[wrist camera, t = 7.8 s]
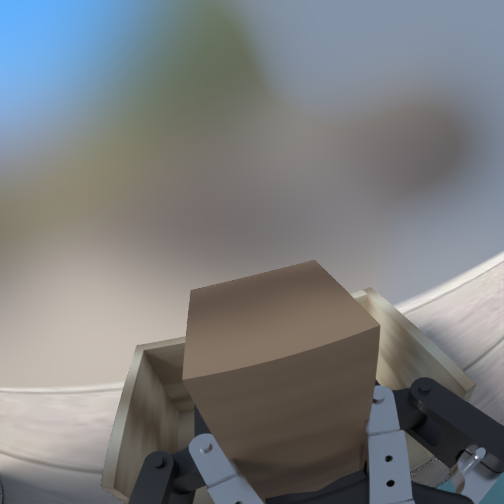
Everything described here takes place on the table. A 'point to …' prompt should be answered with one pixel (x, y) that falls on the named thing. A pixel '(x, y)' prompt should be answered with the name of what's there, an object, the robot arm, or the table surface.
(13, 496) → the table surface
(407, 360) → the crate
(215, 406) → the walnut block
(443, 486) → the mat
